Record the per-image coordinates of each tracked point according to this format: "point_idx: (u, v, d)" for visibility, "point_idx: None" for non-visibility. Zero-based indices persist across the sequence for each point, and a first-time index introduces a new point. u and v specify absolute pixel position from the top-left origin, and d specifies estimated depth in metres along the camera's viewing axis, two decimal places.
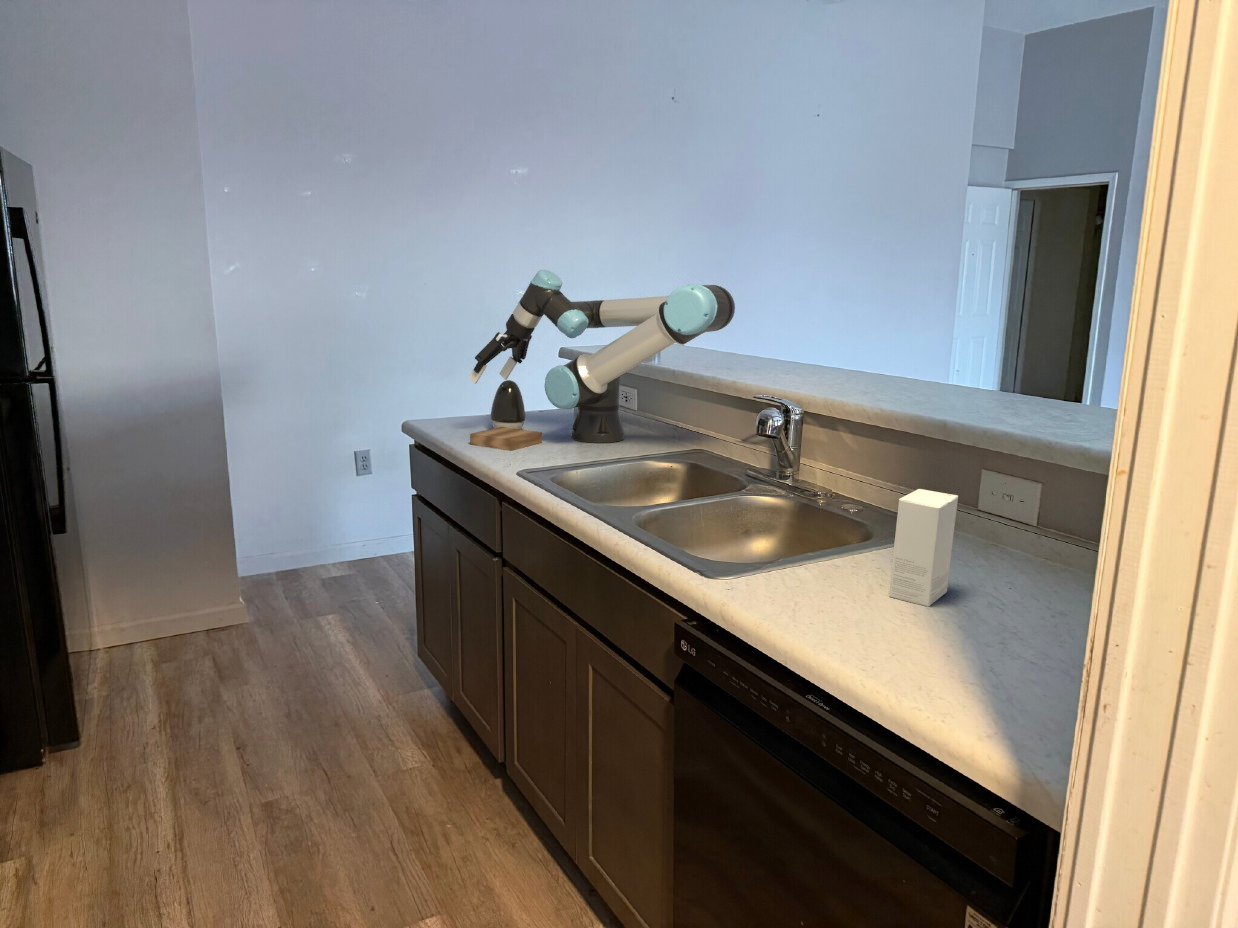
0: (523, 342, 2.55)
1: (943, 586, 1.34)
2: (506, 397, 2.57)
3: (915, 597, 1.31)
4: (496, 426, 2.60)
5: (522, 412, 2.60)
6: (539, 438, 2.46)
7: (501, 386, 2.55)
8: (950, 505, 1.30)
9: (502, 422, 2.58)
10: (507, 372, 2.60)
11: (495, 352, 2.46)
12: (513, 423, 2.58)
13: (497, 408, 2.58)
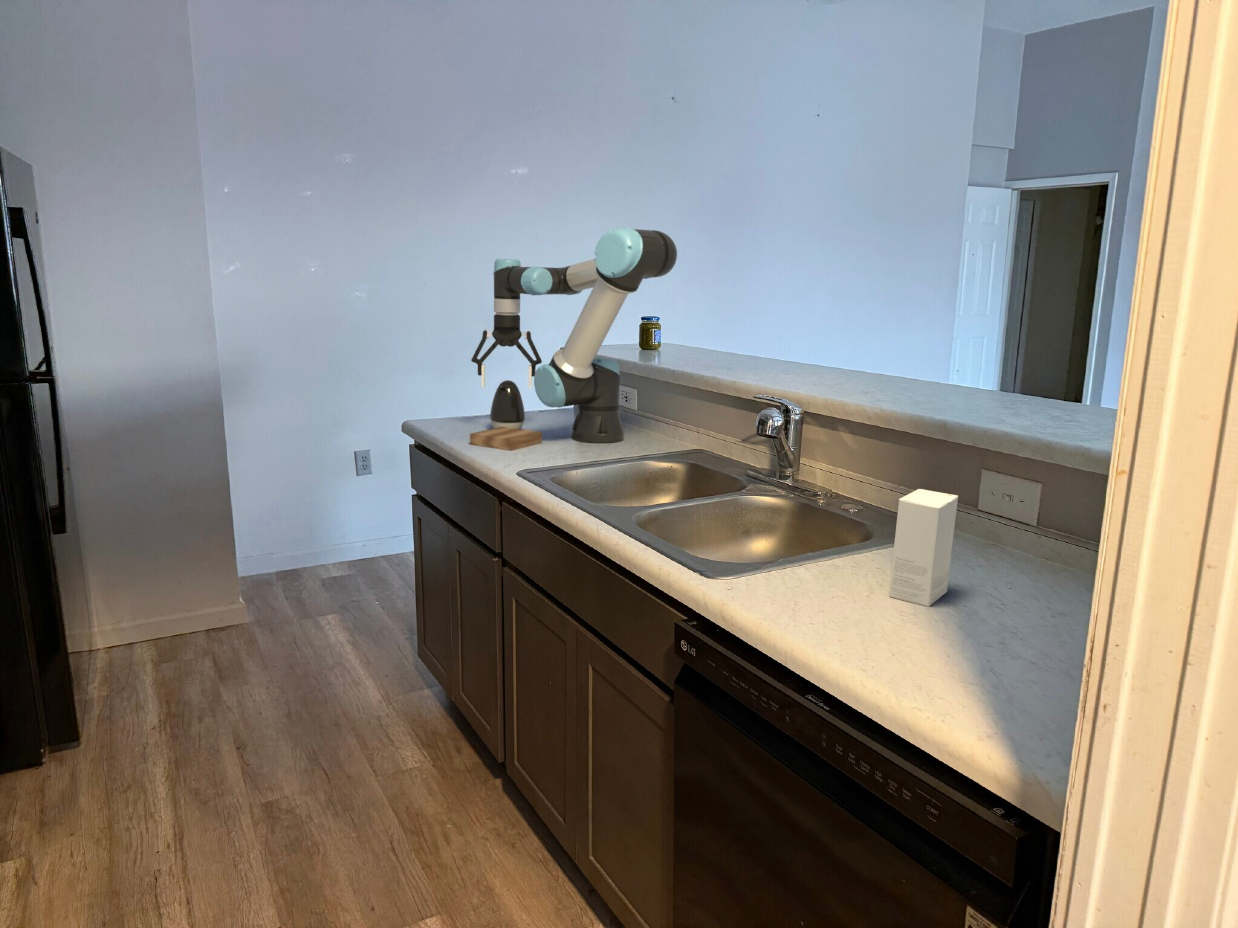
0: (528, 342, 2.58)
1: (943, 586, 1.34)
2: (505, 397, 2.57)
3: (915, 597, 1.31)
4: (496, 426, 2.60)
5: (521, 412, 2.60)
6: (539, 438, 2.46)
7: (500, 386, 2.55)
8: (950, 505, 1.30)
9: (501, 422, 2.58)
10: None
11: (487, 350, 2.57)
12: (512, 423, 2.58)
13: (496, 409, 2.58)
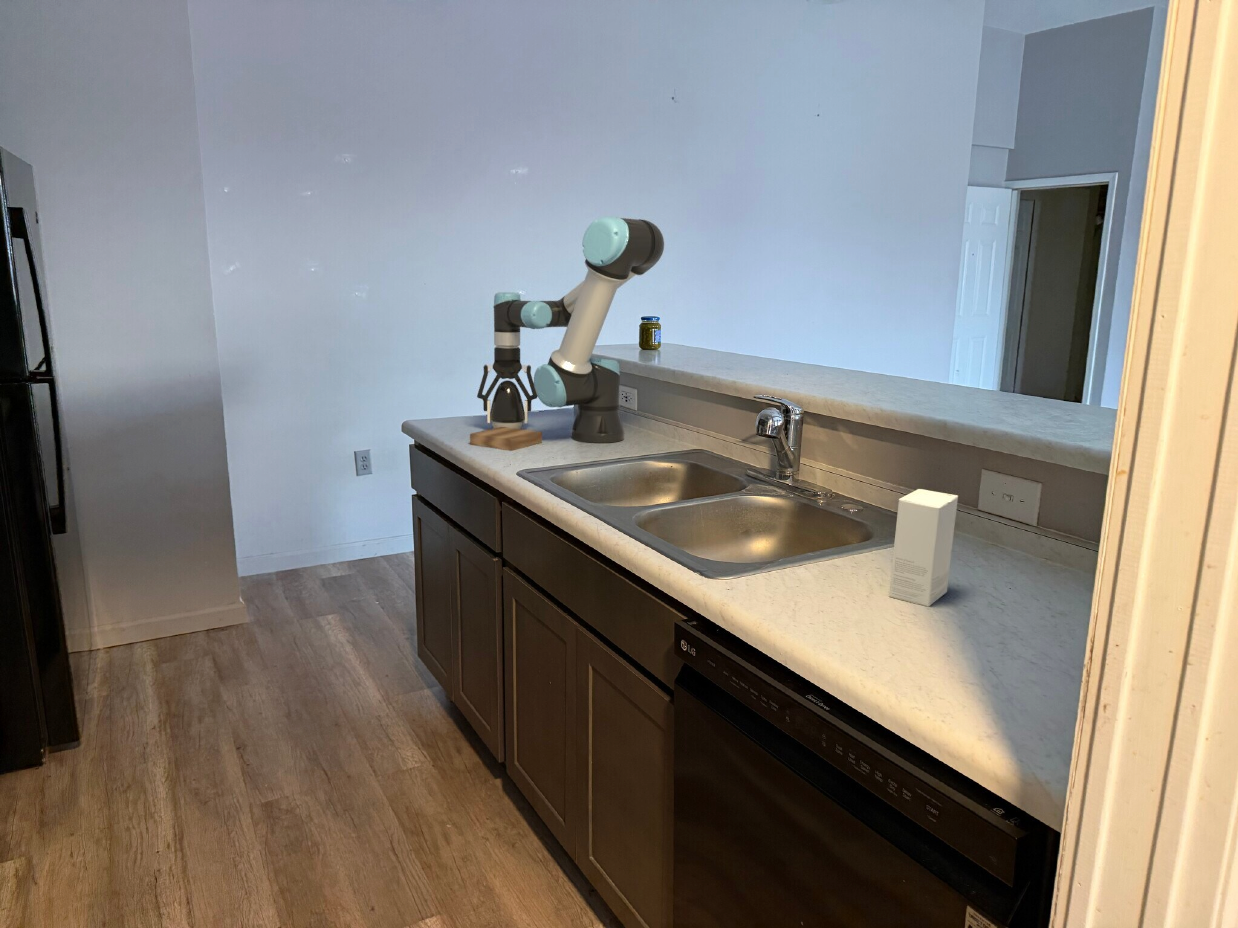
0: (527, 376, 2.60)
1: (943, 586, 1.34)
2: (505, 397, 2.57)
3: (915, 597, 1.31)
4: (496, 426, 2.60)
5: (521, 412, 2.60)
6: (539, 438, 2.46)
7: (499, 386, 2.56)
8: (950, 504, 1.30)
9: (501, 422, 2.58)
10: None
11: (491, 384, 2.59)
12: (512, 423, 2.58)
13: (496, 409, 2.58)
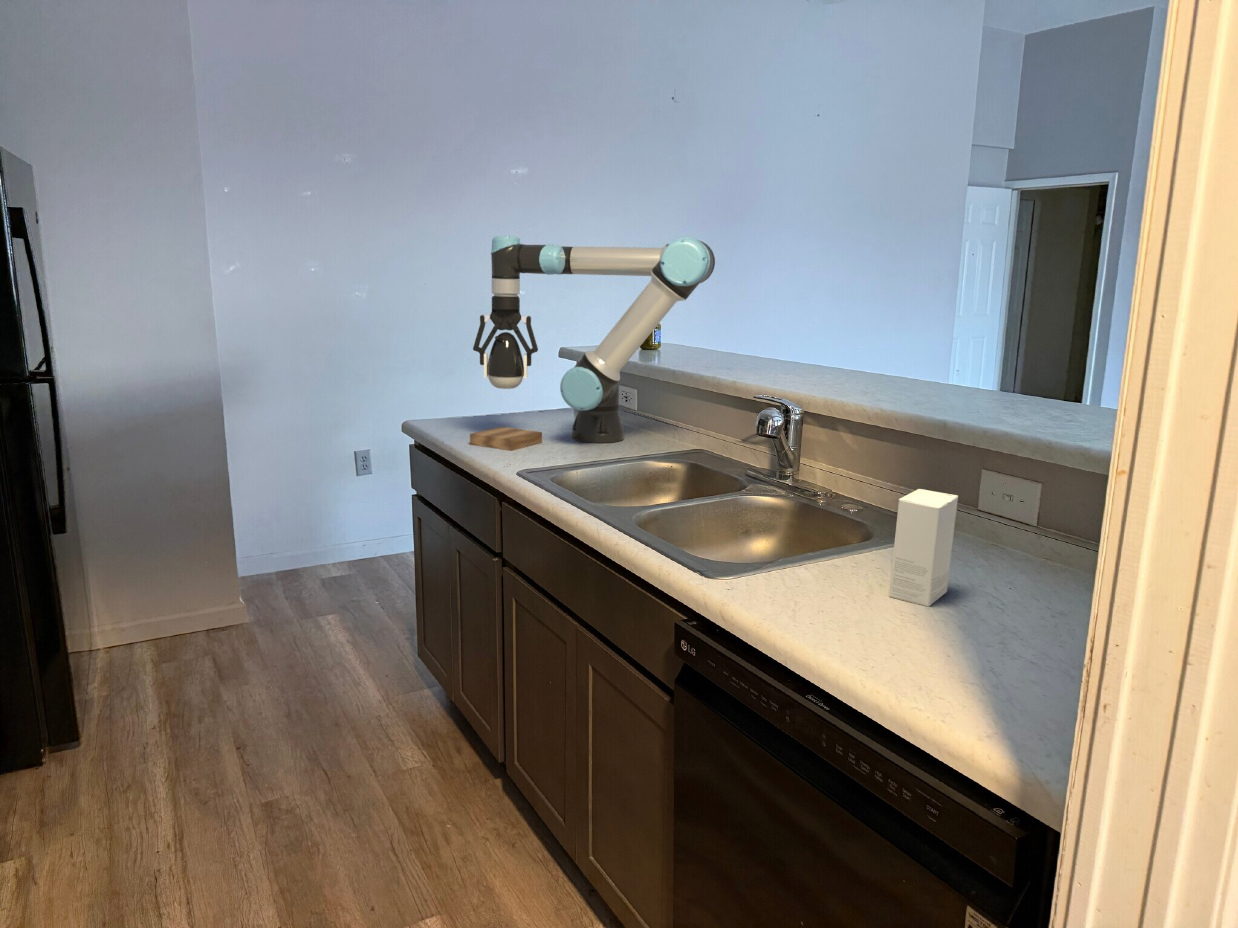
0: (527, 328, 2.42)
1: (943, 586, 1.34)
2: (502, 349, 2.39)
3: (915, 597, 1.31)
4: (492, 381, 2.42)
5: (520, 366, 2.42)
6: (539, 438, 2.46)
7: (496, 337, 2.38)
8: (950, 505, 1.30)
9: (498, 377, 2.40)
10: (524, 370, 2.44)
11: (488, 336, 2.41)
12: (510, 378, 2.40)
13: (493, 362, 2.40)
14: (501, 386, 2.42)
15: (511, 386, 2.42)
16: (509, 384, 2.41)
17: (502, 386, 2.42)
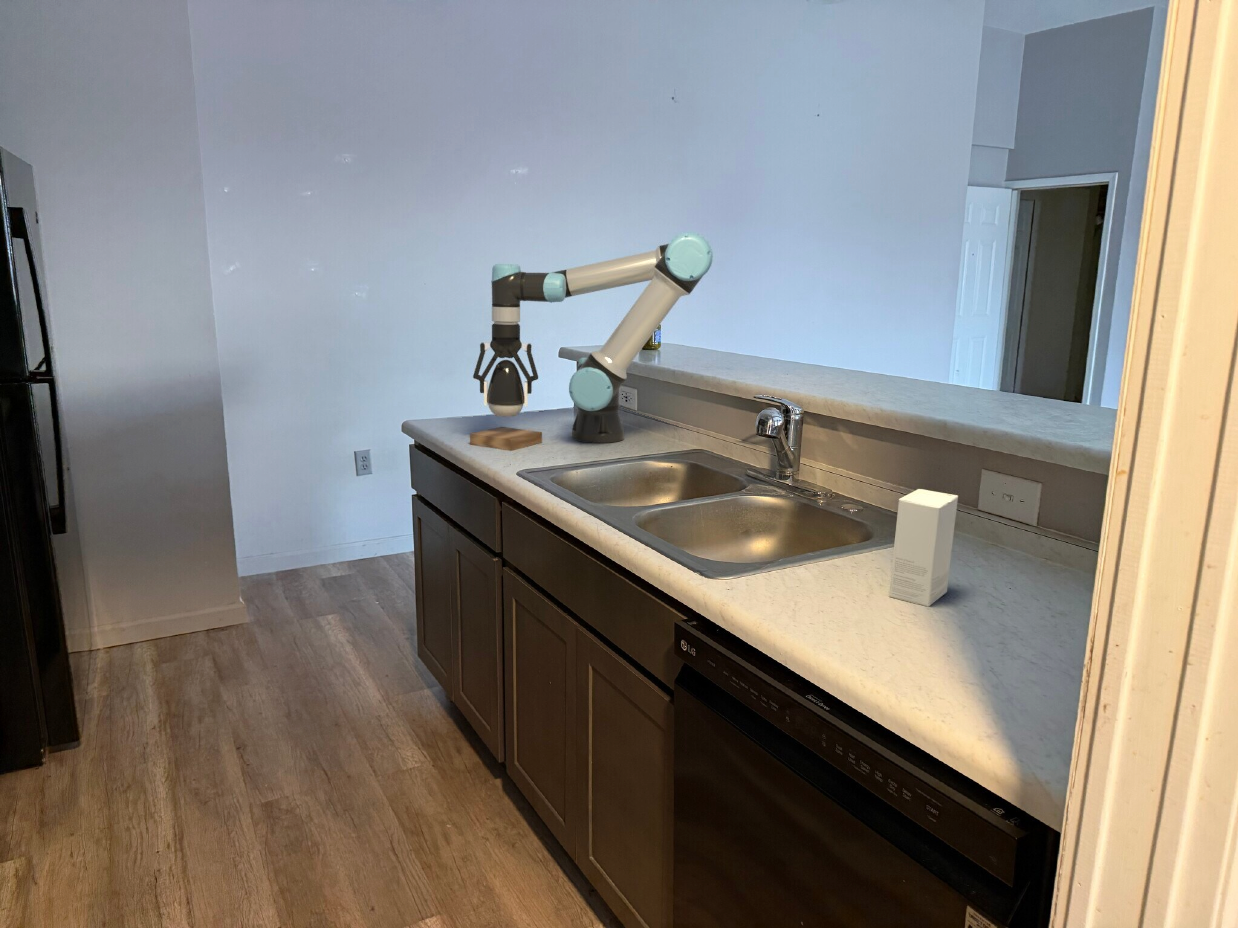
0: (527, 355, 2.41)
1: (943, 586, 1.34)
2: (503, 377, 2.38)
3: (915, 597, 1.31)
4: (493, 409, 2.40)
5: (521, 394, 2.40)
6: (539, 438, 2.46)
7: (497, 366, 2.36)
8: (950, 505, 1.30)
9: (499, 405, 2.38)
10: None
11: (488, 364, 2.39)
12: (511, 406, 2.39)
13: (494, 390, 2.38)
14: (502, 414, 2.40)
15: (512, 414, 2.41)
16: (510, 412, 2.40)
17: (503, 414, 2.40)
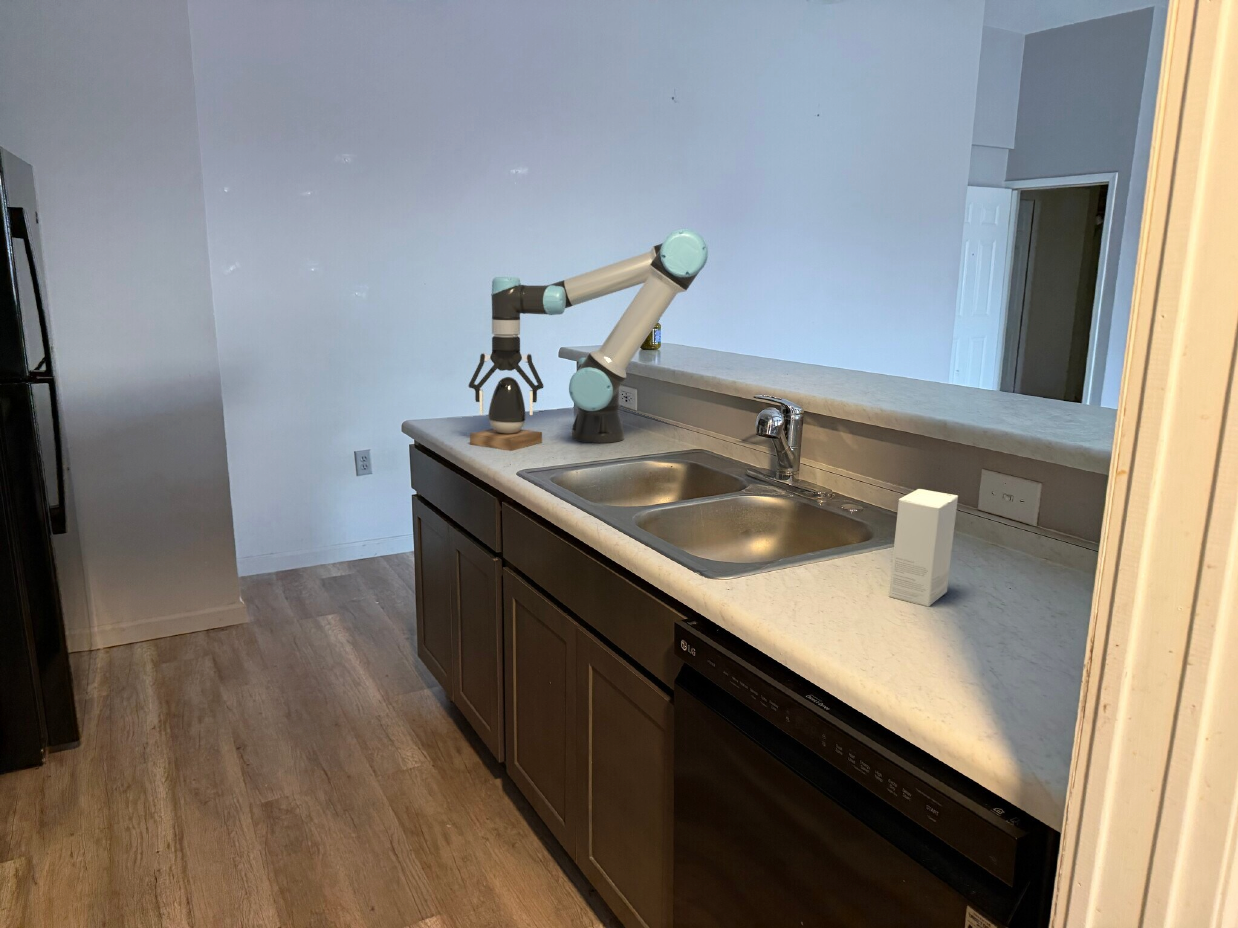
0: (529, 366, 2.41)
1: (943, 586, 1.34)
2: (505, 394, 2.39)
3: (915, 597, 1.31)
4: (494, 426, 2.41)
5: (522, 411, 2.41)
6: (539, 438, 2.46)
7: (499, 382, 2.37)
8: (950, 504, 1.30)
9: (500, 421, 2.39)
10: None
11: None
12: (512, 423, 2.40)
13: (495, 407, 2.39)
14: (502, 430, 2.41)
15: (512, 431, 2.42)
16: (511, 429, 2.41)
17: (503, 431, 2.41)
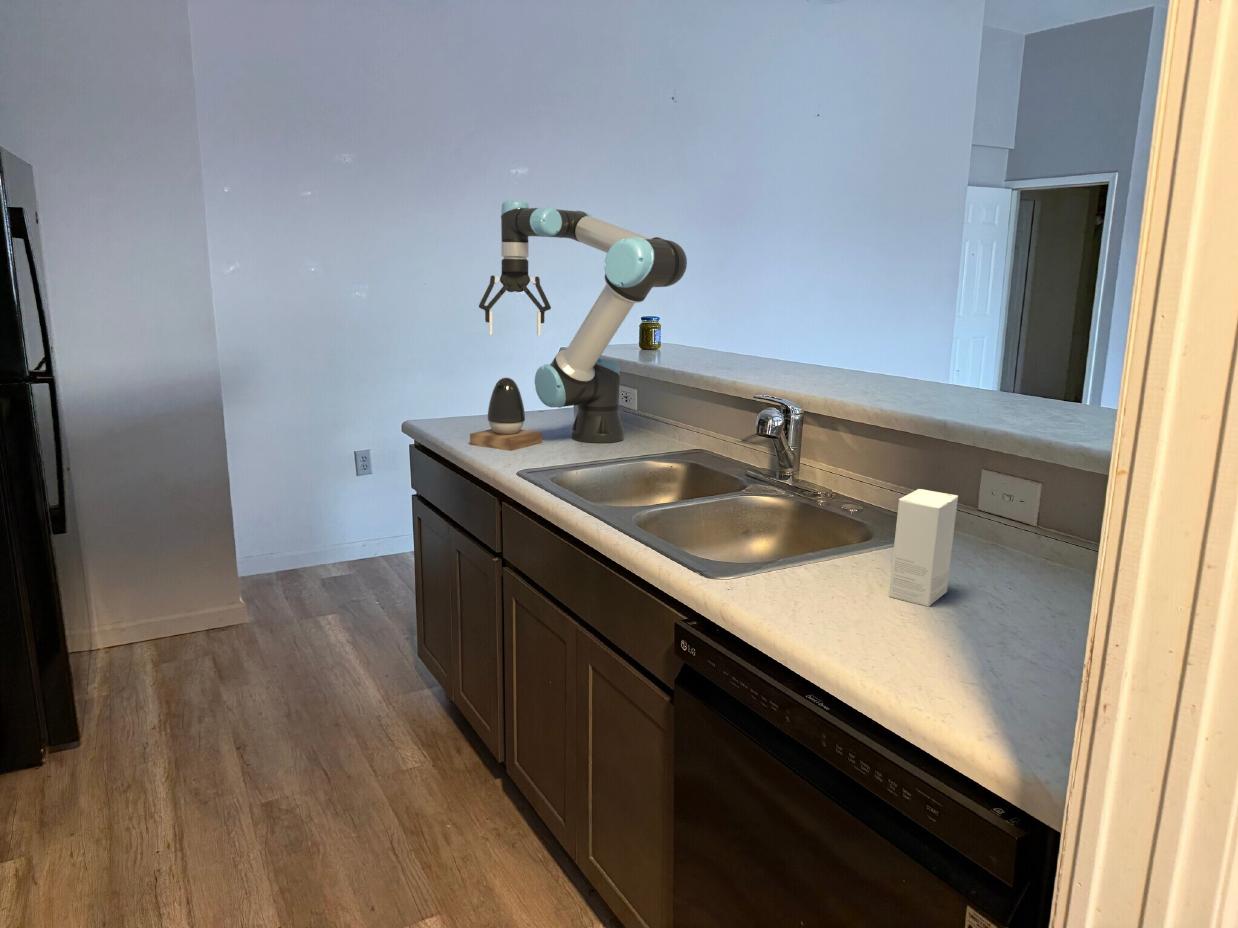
0: (537, 288, 2.53)
1: (943, 586, 1.34)
2: (503, 396, 2.39)
3: (915, 597, 1.31)
4: (494, 427, 2.41)
5: (521, 411, 2.41)
6: (539, 438, 2.46)
7: (497, 384, 2.37)
8: (950, 505, 1.30)
9: (500, 423, 2.39)
10: (537, 327, 2.54)
11: (495, 296, 2.50)
12: (512, 423, 2.40)
13: (494, 408, 2.39)
14: (502, 431, 2.41)
15: (512, 432, 2.42)
16: (511, 430, 2.41)
17: (503, 432, 2.41)
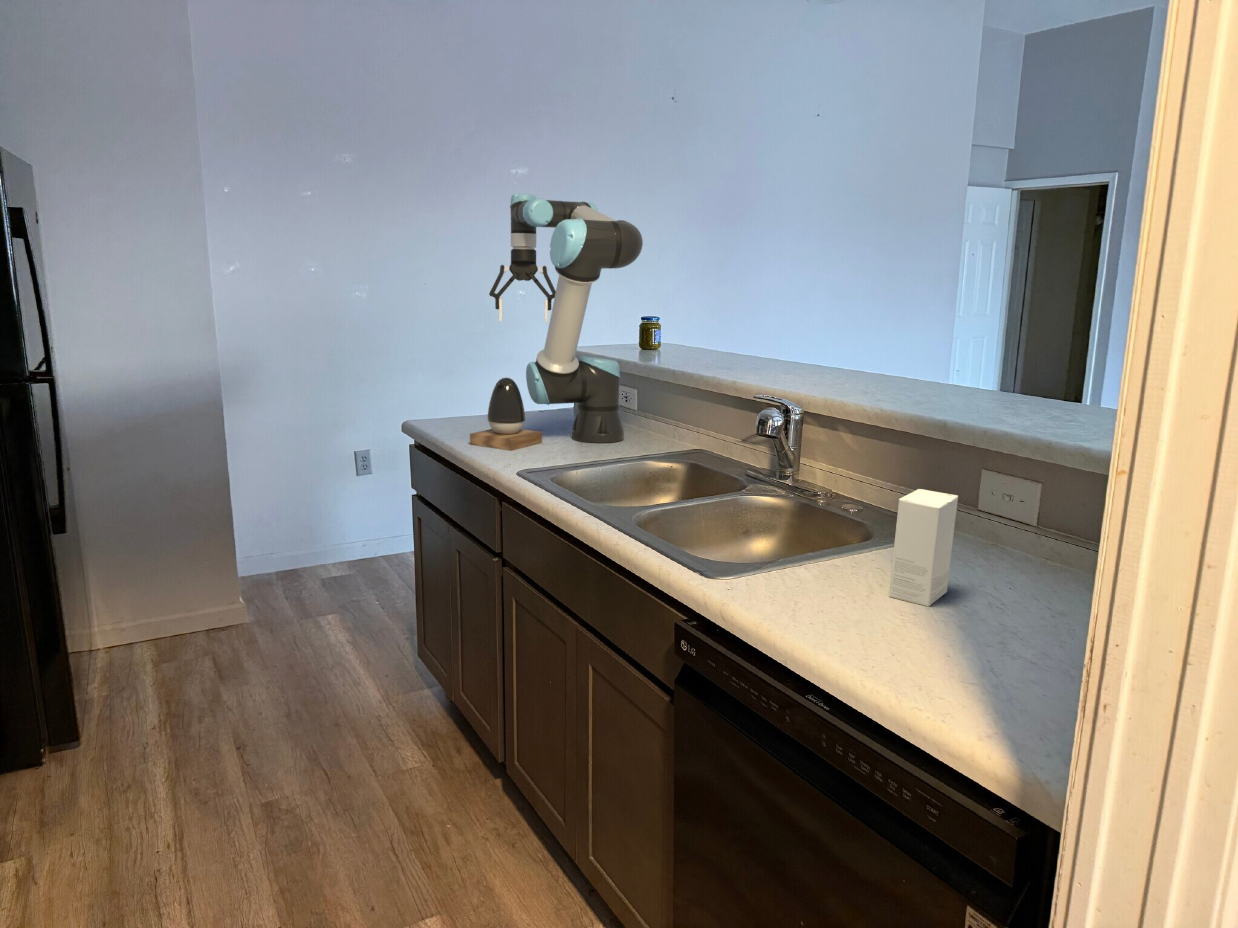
0: None
1: (943, 586, 1.34)
2: (503, 396, 2.39)
3: (915, 597, 1.31)
4: (494, 427, 2.41)
5: (521, 411, 2.41)
6: (539, 438, 2.46)
7: (497, 384, 2.37)
8: (950, 504, 1.30)
9: (500, 423, 2.39)
10: (545, 314, 2.68)
11: (505, 284, 2.65)
12: (512, 423, 2.40)
13: (494, 408, 2.39)
14: (502, 431, 2.41)
15: (512, 432, 2.42)
16: (511, 430, 2.41)
17: (503, 432, 2.41)
